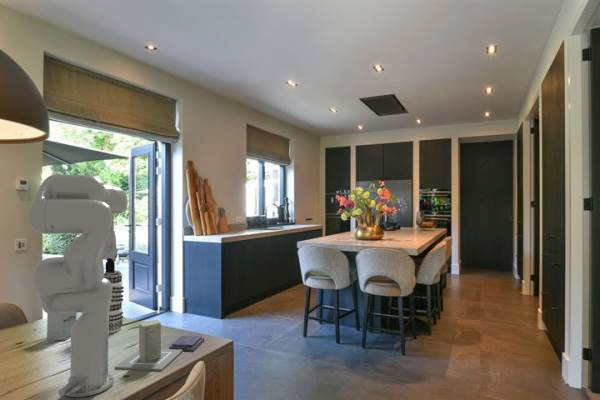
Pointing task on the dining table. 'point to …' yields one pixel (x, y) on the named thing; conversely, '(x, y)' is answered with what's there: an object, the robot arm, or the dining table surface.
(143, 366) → the card
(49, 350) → the dining table surface
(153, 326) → the skincare box
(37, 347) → the dining table surface
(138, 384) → the dining table surface
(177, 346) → the ink pad
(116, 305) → the decorative candle
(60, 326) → the supplement box
